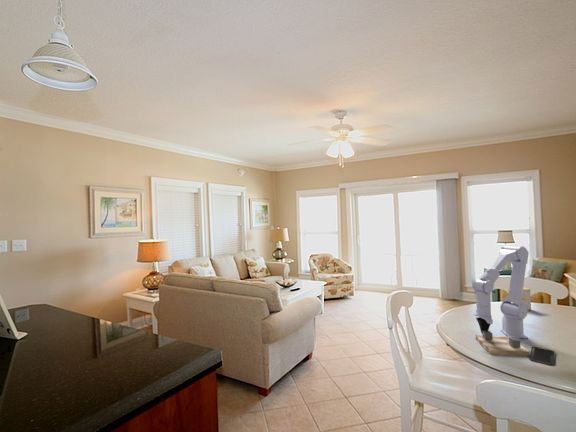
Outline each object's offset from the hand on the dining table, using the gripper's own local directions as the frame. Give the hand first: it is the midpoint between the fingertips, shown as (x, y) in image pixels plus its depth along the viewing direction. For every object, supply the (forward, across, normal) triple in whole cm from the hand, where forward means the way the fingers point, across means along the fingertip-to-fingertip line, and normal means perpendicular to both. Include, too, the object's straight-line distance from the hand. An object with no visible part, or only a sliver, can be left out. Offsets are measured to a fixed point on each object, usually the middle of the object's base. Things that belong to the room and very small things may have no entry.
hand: (484, 333), depth 145 cm
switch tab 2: (+1, +10, +8) cm, 13 cm away
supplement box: (+3, -56, +41) cm, 70 cm away
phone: (+4, +14, +17) cm, 22 cm away
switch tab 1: (+1, +3, 0) cm, 3 cm away
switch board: (+3, +7, +4) cm, 9 cm away
